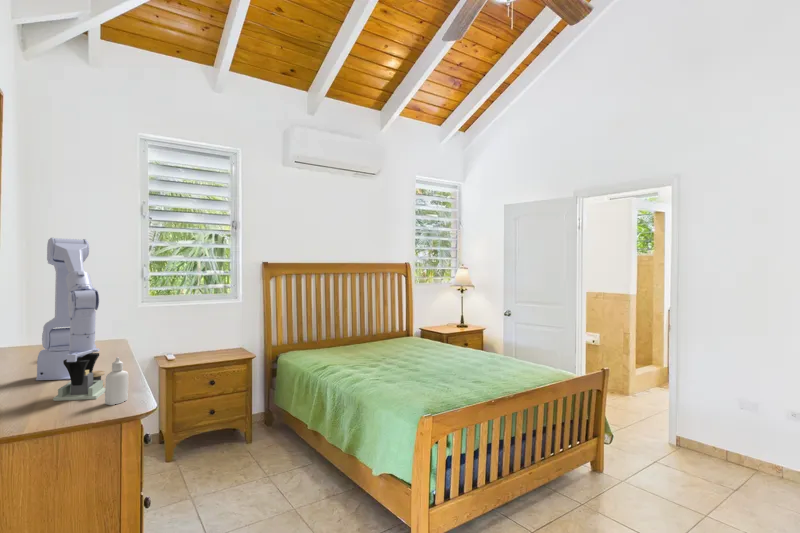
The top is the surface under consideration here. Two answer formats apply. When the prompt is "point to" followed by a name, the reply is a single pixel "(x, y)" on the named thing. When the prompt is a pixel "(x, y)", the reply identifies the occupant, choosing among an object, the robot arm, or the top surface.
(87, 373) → the plug
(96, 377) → the spool
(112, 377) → the eye dropper bottle
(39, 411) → the top surface
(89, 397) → the notched board
